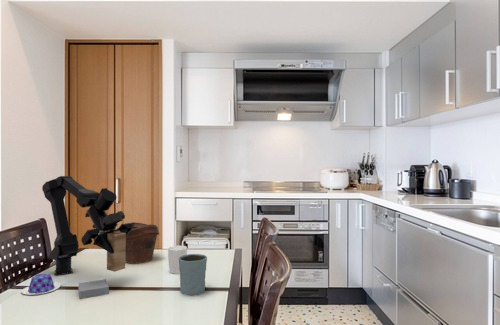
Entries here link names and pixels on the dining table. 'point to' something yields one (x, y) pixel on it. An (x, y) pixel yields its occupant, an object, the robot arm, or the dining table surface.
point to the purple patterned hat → (41, 284)
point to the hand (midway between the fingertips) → (118, 251)
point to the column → (116, 251)
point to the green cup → (192, 273)
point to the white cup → (175, 257)
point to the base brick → (93, 288)
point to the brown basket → (141, 243)
